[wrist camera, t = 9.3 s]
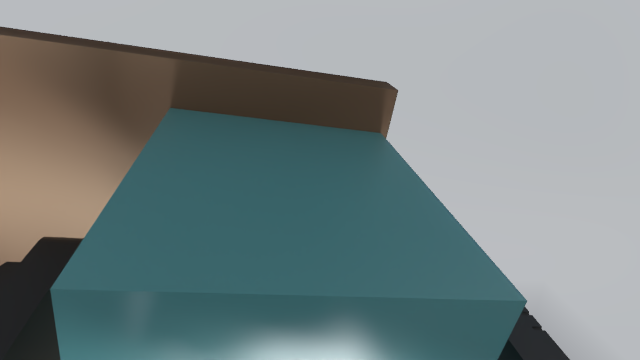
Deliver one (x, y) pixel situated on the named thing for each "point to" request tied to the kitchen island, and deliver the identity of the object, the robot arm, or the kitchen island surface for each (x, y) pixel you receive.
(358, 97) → the board
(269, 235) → the teal foam cube
